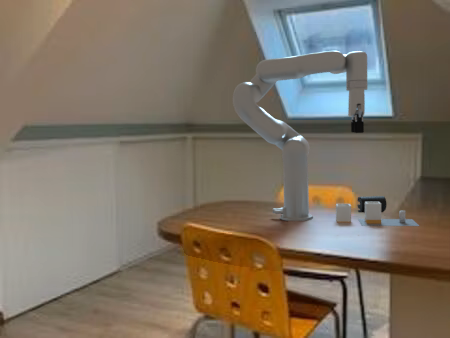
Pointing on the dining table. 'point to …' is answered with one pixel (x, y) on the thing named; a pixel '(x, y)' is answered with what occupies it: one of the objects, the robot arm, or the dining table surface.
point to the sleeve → (343, 213)
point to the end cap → (371, 199)
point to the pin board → (392, 221)
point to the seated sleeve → (373, 212)
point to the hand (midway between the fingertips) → (357, 132)
